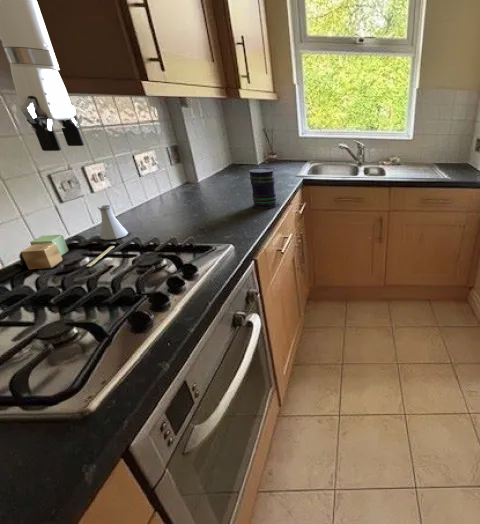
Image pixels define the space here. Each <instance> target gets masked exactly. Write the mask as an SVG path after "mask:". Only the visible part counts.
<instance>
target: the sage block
mask: <svg viewBox="0 0 480 524" xmlns="http://www.w3.org/2000/svg"><path fill="white" fill-rule="evenodd" d="M29 243H30V246H32V245H34V244H51V243H56V245H57V247H58V250H59V252H60V254H61V257H63V255H65V254H66V253H68V252H69V248H68V245H67V242H66V239H65V237H64V234H51V235H50V234H49V235H41V236H39V237H37V238H35V239H33V240H32V241H30V242H29Z"/></svg>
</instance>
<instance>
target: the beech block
mask: <svg viewBox="0 0 480 524" xmlns="http://www.w3.org/2000/svg"><path fill="white" fill-rule="evenodd" d="M20 254H21V256H22V258H23V260H24V262H25V264H26V267H27V268H28V270H41V269H52V268H54V267H56V266H57V265H58V264H59V263H61V262H62V261H63V260H64V259H63V256H61V254H60V252H59V250H58V247H57V245H56V243H51V244H34V245H32V246H31V245H30V246H29V247H26V248H25V249H23V250H21V251H20Z"/></svg>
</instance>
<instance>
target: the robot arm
mask: <svg viewBox="0 0 480 524" xmlns="http://www.w3.org/2000/svg"><path fill="white" fill-rule="evenodd" d="M38 3H39V2H38V1H37V0H0V42H1V46H2V48H3V50H4V53H5V55H6V59H7V61H8V63H9V66H10V73H11V78H12V81H13V87H14V89H15V92H16V96H17V99H18V101H19V105H20V111H21V112H22V114H23V116H24V118H26V122H27V123H28V124H29V125H31V129H32V130H33V131H34V132H35V135H36V138H37V140H38V142H39V145H40V148H41V150H42V151H43V152H60V151H61V150H62V147H61V145H60V142H59V139H58V136H57V133H56V131H55V130H52V127H53V122H54V121H55V122H56V121H58V123H60V125H61V126H62V127H61V132H62V133H63V137H64V140H65V143H66V145H67V146H68V147H82V146H85V143H84V140H83V137H82V134H81V131H80V125H79V123H78V117H77V111H76V108H75V107H74V105H72V101H71V99H70V96H69V93H68V91H67V88H66V86H65V84H64V80H63V79H62V77H61V75H60V72H59V71H61V69H60V66H59V62H58V60H57V57H56V54H55V52H54V51H55V50H54V48H53V45H52V42H51V38H50V36H49V33H48V30H47V27H46V24H45V21H44V18H43V15H42V13H41V9H40V6H39V4H38Z"/></svg>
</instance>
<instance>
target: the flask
mask: <svg viewBox="0 0 480 524" xmlns="http://www.w3.org/2000/svg"><path fill="white" fill-rule="evenodd" d="M97 209H98V210H99V211H100V217H101V222H100V225H101V226H100V232H99V239H101V240H105V241H107V240H118V239H120V238H123V237H126V236H127V235H128V234H129V232H128V230H126V228H125V227H124V226H123V225H122V224H121V223H120V221H119V220H118V219H117V218H116V216H115V215H114V212H113V210H112V205H110V204H105V205H104V204H103V205H100V206H98V207H97Z"/></svg>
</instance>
